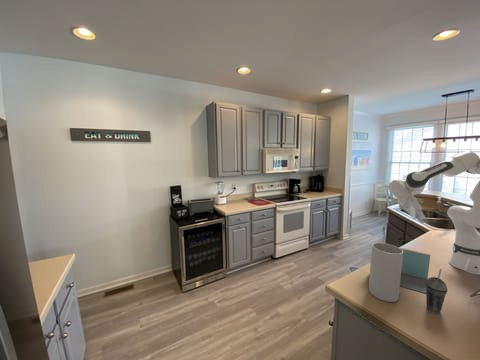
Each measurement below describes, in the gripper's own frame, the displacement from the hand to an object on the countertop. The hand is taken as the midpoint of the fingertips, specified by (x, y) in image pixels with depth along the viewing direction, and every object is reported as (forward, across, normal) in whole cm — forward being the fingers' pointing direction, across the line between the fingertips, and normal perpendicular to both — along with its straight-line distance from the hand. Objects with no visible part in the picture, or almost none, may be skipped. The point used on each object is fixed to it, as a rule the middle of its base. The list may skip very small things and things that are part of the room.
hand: (423, 220), depth 119 cm
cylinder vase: (+32, -18, +39) cm, 54 cm away
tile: (+24, +10, +21) cm, 34 cm away
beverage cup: (+42, -16, +23) cm, 50 cm away
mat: (+29, +1, +23) cm, 37 cm away
